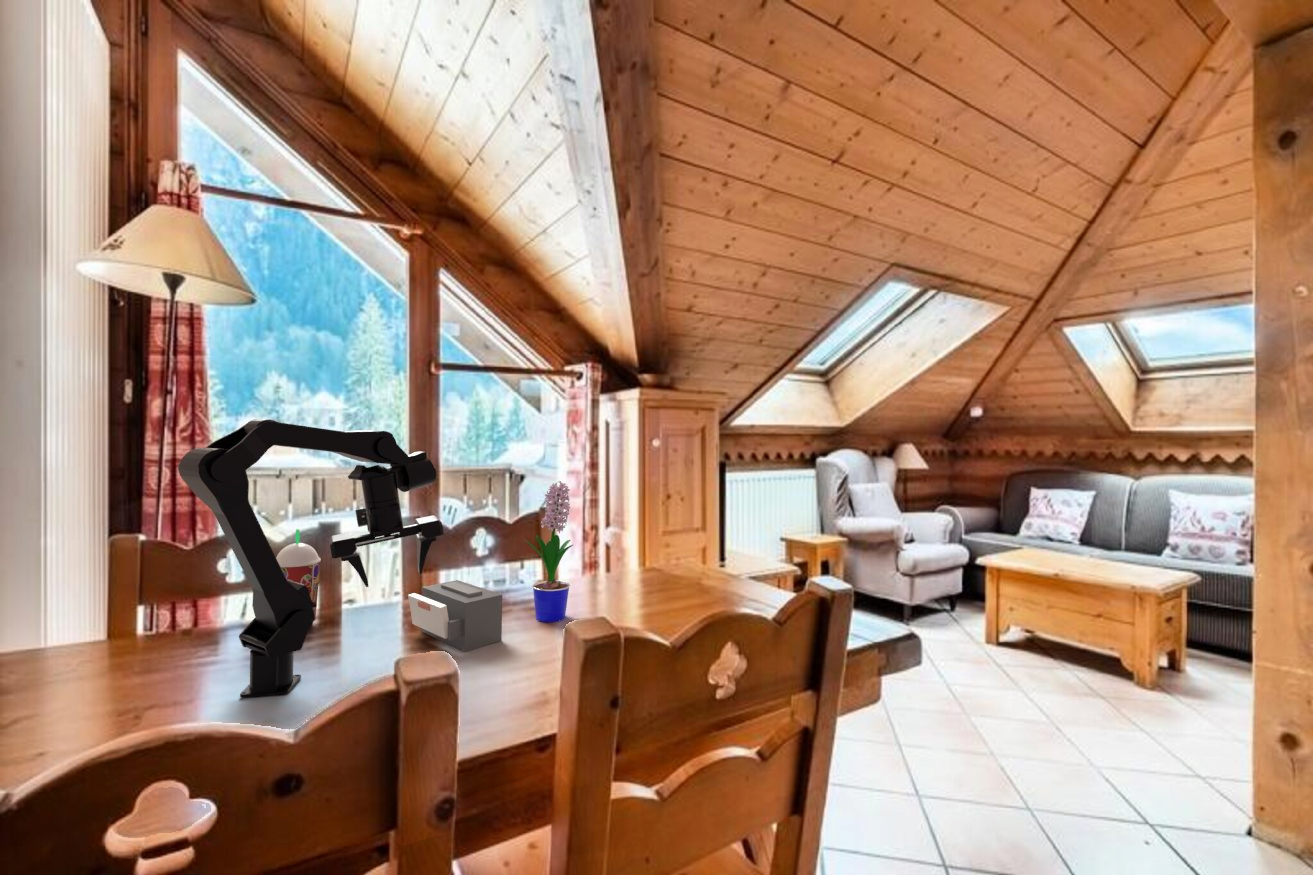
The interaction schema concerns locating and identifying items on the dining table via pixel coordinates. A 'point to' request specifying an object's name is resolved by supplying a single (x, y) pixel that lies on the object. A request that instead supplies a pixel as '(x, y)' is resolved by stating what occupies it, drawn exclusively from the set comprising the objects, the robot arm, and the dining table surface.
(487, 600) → the box
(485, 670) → the dining table surface
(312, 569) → the smoothie
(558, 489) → the hyacinth
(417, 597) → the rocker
